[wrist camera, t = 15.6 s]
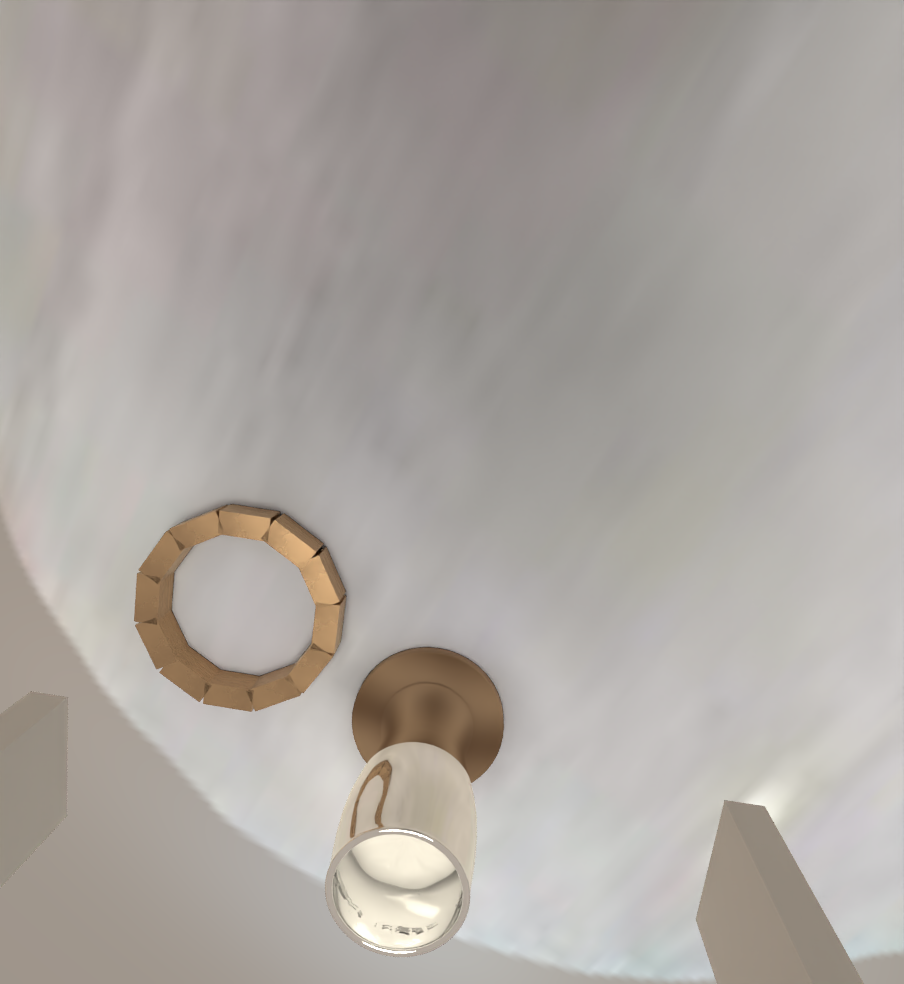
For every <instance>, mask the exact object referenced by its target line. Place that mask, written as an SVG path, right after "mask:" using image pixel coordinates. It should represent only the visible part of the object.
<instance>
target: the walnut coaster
mask: <svg viewBox="0 0 904 984" xmlns="http://www.w3.org/2000/svg"><path fill="white" fill-rule="evenodd" d="M418 683H434V684H439V685H442V686H445V687H447V688H449V689H451V690H452V691H454V692H455V693H457V694H458V695H459V696H460V697H461V698H462V699H463V700H464V701H465V703H466V704H467V706H468V708H469V710H470V712H471V715H472V718H473V724H474V730H473V737H472V741H471V744H470V747H469V749H468V752H467V754H466V756H465V760H466V765H467V769H468V773H469V777H470V781H471V783H472V782H473V781H475V780H476V779H477V778H479V777H480V776H481V775H482V774H483V773H484V772H485V771H486V770H487V769H488V768H489V767H490V765H491V764H492V763H493V761H494V759H495V758H496V756H497V754H498V751H499V749H500V746H501V742H502V738H503V730H504V724H503V709H502V703H501V700H500V697H499V694H498V692H497V690H496V688H495V686H494V684H493V683H492V681H491V680H490V678H489V677H488V676H487V675H486V674H485V672H484V671H483V670H482V669H481V668H479V667H478V666H477V665H476V664H475V663H473V662H472V661H470V660H469V659H467V658H465V657H463V656H462V655H460V654H457V653H454V652H452V651H449V650H444V649H440V648H431V647H424V648H414V649H408V650H405V651H401V652H399V653H396V654H394V655H392V656H390V657H388V658H387V659H385V660H383V661H382V662H381V663H380V664H378V665H377V666H376V667H375V668H374V669H373V670H372V671H371V672H370V673H369V675H368V676H367V677H366V679H365V680H364V682H363V684H362V686H361V688H360V690H359V692H358V695H357V698H356V700H355V703H354V708H353V712H352V729H353V735H354V739H355V742H356V745H357V748H358V750H359V752H360V754H361V756H362V757H363V759H364V760H365V762H366V763H367V762H368V761H369V759H370V758H371V757H372V755H373V754H374V752H375V751H376V749H377V748H378V746H379V745H380V742H381V718H382V714H383V711H384V709H385V707H386V705H387V703H388V702H389V700H390V699H391V698H392V697H393V696H394V695H395V694H396V693H397V692H399V691H400V690H402V689H403V688H405V687H407V686H410V685H413V684H418Z"/></svg>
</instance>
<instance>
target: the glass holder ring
mask: <svg viewBox="0 0 904 984" xmlns="http://www.w3.org/2000/svg"><path fill="white" fill-rule="evenodd" d="M219 535H228V536H235V537H241V538H247V539H254V540H260V541H265V542H266V543H267V544H269V545H270V546H271V547H272V548H274V549H275V550H276V551H278V552H279V553H280V554H282V555H283V556H284V557H286V558H287V559H288V560H290V561H291V562H292V563H293V564H295V565H296V566H297V567H299V569H300V572H301V574H302V576H303V578H304V580H305V583H306V585H307V587H308V589H309V592H310V594H311V596H312V598H313V601H314V603H315V605H316V610H315V619H314V627H313V636H312V643H311V645H310V646H309V647H308V648H307V650H306V651H305V652H304V653H303V655H302V656H301V657H300V658H299V660H298V661H297V662H296V663H295V664H292V665H289V666H286V667H284V668H281V669H278V670H275V671H273V672H270V673H267V674H264V675H262V676H255V675H249V674H243V673H237V672H231V671H225V670H220V669H219V668H218V667H216V666H215V665H213V664H212V663H211V662H209V661H208V660H207V659H205V658H204V657H203V656H201V655H200V654H199V653H197V652H196V651H195V650H193V649H192V648H191V647H189V646H188V644H187V642H186V640H185V638H184V635H183V633H182V631H181V629H180V627H179V625H178V623H177V621H176V619H175V617H174V615H173V613H172V610H171V609H172V595H173V582H174V572H175V570H176V569H177V568H178V566H179V565H180V563H181V562H182V561H183V559H184V558H185V557H186V555H187V554H188V553H189V551H190V550H191V549H192V547H193V546H194V545H196V544H199V543H201V542H204V541H206V540H209V539H211V538H214V537H216V536H219ZM322 545H323V543H322V542H321V541H320V540H318V539H317V538H316V537H314V536H313V535H312V534H310V533H309V532H308V531H307V530H305V529H304V528H303V527H301V526H300V525H299V524H297V523H296V522H295V521H294V520H292V519H291V518H290V517H288V516H287V515H286V514H282V515H281V516H280V511H273V510H267V509H260V508H254V507H248V506H241V505H235V504H230V505H229V506H228V505H225V506H222V507H220V508H217V509H214V510H212V511H209V512H207V513H204V514H202V515H199V516H197V517H194V518H192V519H189V520H187V521H184V522H182V523H180V524H178V525H176V526H174V527H172V528H170V530H168V531H166V533H165V534H164V535H163V537H162V538H161V539H160V541H159V542H158V544H157V545H156V546H155V548H154V549H153V551H152V552H151V553H150V555H149V556H148V557H147V559H146V560H145V562H144V563H143V564H142V566H141V567H140V568H139V571H141V572H139V573H137V584H136V600H135V616H134V621H136V622H139V623H137V624H136V625H135V626H136V628H137V630H138V633H139V635H140V637H141V639H142V641H143V643H144V645H145V647H146V649H147V651H148V653H149V655H150V657H151V659H152V661H153V663H154V665H155V667H156V669H159V668H162V667H163V668H162V670H161V671H160V672H159V673H161V674H162V675H163V676H165V677H166V678H167V679H169V680H170V681H171V682H173V683H174V684H175V685H177V686H178V687H179V688H181V689H182V690H184V691H185V692H186V693H188V694H189V695H190V696H192V697H193V698H194V699H196V700H197V701H198V702H200V701H201V700H202V698H203V697H204V700H203V704H208V705H214V706H220V707H226V708H232V709H238V710H244V711H250V712H252V710H253V709H255V711H258V710H261V709H264V708H266V707H269V706H272V705H275V704H278V703H280V702H283V701H286V700H289V699H292V698H295V697H297V696H300V695H301V693H304V692H305V691H306V689H307V688H308V687H309V686H310V684H311V683H312V682H313V681H314V679H315V678H316V677H317V676H318V675H319V673H320V672H321V671H322V670H323V668H324V667H325V666H326V665H327V663H328V662H329V661H330V660H331V659H332V657H333V656H334V654H335V652H336V650H337V648H338V646H339V644H340V642H341V636H342V628H343V620H344V612H345V603H346V595H344V594H345V592H346V591H345V588H344V586H343V584H342V582H341V579H340V577H339V575H338V572H337V570H336V568H335V566H334V563H333V561H332V559H331V556H330V554H329V552H328V550H327V547H325V548H323V549H320V548H321V547H322ZM319 549H320V550H319Z"/></svg>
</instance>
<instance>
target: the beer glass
mask: <svg viewBox="0 0 904 984" xmlns="http://www.w3.org/2000/svg"><path fill="white" fill-rule="evenodd" d="M473 730H474V724H473V718H472V715H471V712H470V710H469V708H468V706H467V704H466V703H465V701H464V700H463V699H462V698H461V697H460V696H459V695H458V694H457V693H455V692H454V691H452V690H451V689H449V688H447V687H445V686H442V685H439V684H434V683H418V684H413V685H410V686H407V687H405V688H403V689H402V690H400V691H399V692H397V693H396V694H395V695H394V696H393V697H392V698H391V699H390V700H389V702H388V703H387V705H386V707H385V709H384V711H383V714H382V718H381V742H380V745H379V746H378V748H377V749H376V751H375V752H374V754H373V755H372V757H371V758H370V759H369V761H368V762H367V764H366V765H365V767H364V768H363V770H362V772H361V773H360V775H359V777H358V779H357V780H356V782H355V784H354V786H353V788H352V789H351V791H350V794H349V796H348V799H347V801H346V804H345V807H344V809H343V812H342V815H341V819H340V822H339V826H338V829H337V833H336V837H335V842H334V846H333V851H332V856H331V862H330V866H329V869H328V872H327V876H326V882H325V895H326V901H327V905H328V908H329V911H330V913H331V915H332V917H333V919H334V921H335V922H336V924H337V925H338V926H339V928H340V929H341V930H342V931H343V932H344V933H345V934H346V935H347V936H348V937H349V938H350V939H351V940H353V941H354V942H355V943H357V944H358V945H360V946H362V947H364V948H366V949H368V950H370V951H373V952H375V953H379V954H383V955H387V956H393V957H410V956H417V955H421V954H425V953H428V952H431V951H433V950H435V949H437V948H439V947H440V946H442V945H444V944H445V943H446V942H448V941H449V940H450V939H451V938H452V937H453V936H454V935H455V934H456V933H457V932H458V930H459V929H460V928H461V926H462V924H463V923H464V921H465V918H466V916H467V913H468V909H469V904H470V891H471V884H472V879H473V872H474V865H475V857H476V844H477V815H476V807H475V801H474V794H473V790H472V785H471V781H470V777H469V773H468V769H467V765H466V760H465V756H466V754H467V752H468V749H469V747H470V744H471V741H472V737H473Z"/></svg>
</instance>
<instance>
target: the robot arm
mask: <svg viewBox="0 0 904 984" xmlns="http://www.w3.org/2000/svg"><path fill="white" fill-rule="evenodd" d="M67 736H68V697H64V696H57V695H51V694H45V693H38V692H32V691H31V692H30V693H28V694H27V695H26V696H24V697H23V698H22V699H20V700H19V701H17V702H16V703H15V704H13V705H12V706H11V707H9V708H8V709H7V710H5V711H4V712H3V713H1V714H0V888H1V887H2V886H3V885H4V884H5V883H6V882H7V881H8V880H9V878H10V877H11V876H12V875H13V874H14V873H15V872H16V871H17V870H18V869H19V868H20V866H21V865H22V864H23V863H24V862H25V861H26V860H27V859H28V858H29V857H30V855H32V853H33V852H34V851H35V850H36V849H37V848H38V847H39V846H40V845H41V844H42V843H43V841H44V840H45V839H46V838H47V837H48V836H49V835H50V834H51V832H53V831H54V830H55V828H56V827H57V826H58V825H59V824H60V823H61V822H62V821H63V820H64V818H66V816H67V739H68V737H67ZM696 922H697V925H698V928H699V931H700V934H701V937H702V940H703V943H704V946H705V949H706V952H707V955H708V958H709V961H710V964H711V967H712V970H713V973H714V976H715V979H716V982H717V984H864V983H863V981H862V980H861V978H860V976H859V974H858V972H857V971H856V969H855V967H854V965H853V963H852V962H851V960H850V958H849V956H848V954H847V953H846V951H845V949H844V947H843V946H842V944H841V942H840V940H839V938H838V937H837V935H836V933H835V931H834V929H833V928H832V926H831V924H830V922H829V921H828V919H827V917H826V915H825V913H824V912H823V910H822V908H821V906H820V904H819V903H818V901H817V899H816V897H815V895H814V894H813V892H812V890H811V888H810V887H809V885H808V883H807V881H806V879H805V878H804V876H803V874H802V872H801V870H800V869H799V867H798V865H797V863H796V861H795V860H794V858H793V856H792V854H791V853H790V851H789V849H788V847H787V845H786V844H785V842H784V840H783V838H782V836H781V835H780V833H779V831H778V829H777V828H776V826H775V824H774V822H773V820H772V819H771V817H770V815H769V813H768V811H767V810H766V808H765V806H759V805H753V804H746V803H740V802H734V801H727V800H725V801H724V805H723V809H722V813H721V817H720V821H719V825H718V830H717V834H716V838H715V842H714V846H713V850H712V854H711V859H710V863H709V867H708V871H707V875H706V879H705V883H704V888H703V892H702V896H701V900H700V904H699V908H698V912H697V916H696Z"/></svg>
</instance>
